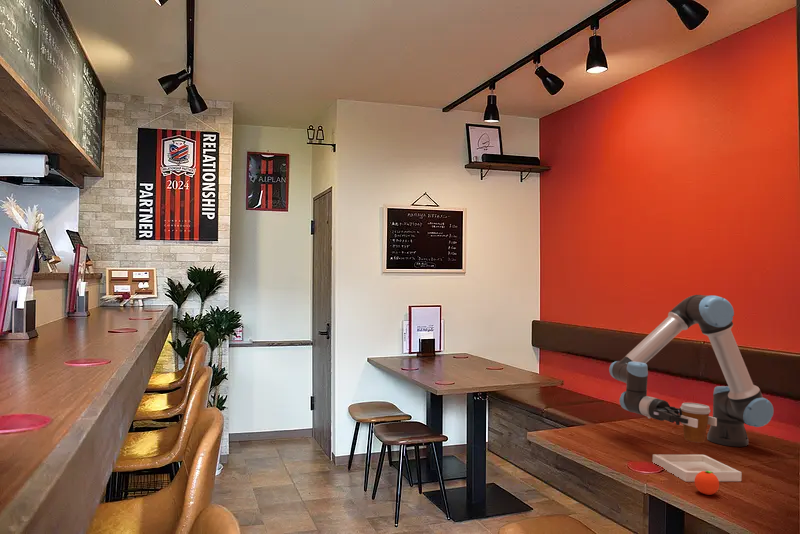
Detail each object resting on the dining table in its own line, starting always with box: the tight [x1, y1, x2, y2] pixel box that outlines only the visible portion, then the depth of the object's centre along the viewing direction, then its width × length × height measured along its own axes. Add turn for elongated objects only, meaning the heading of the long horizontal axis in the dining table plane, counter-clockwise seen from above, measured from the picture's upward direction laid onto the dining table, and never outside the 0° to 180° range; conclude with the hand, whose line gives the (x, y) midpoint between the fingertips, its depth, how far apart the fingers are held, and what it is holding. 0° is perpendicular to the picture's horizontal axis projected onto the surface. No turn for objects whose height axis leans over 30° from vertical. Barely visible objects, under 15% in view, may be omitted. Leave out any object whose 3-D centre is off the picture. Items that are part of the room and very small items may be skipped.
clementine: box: [694, 471, 720, 496], centre depth 194 cm, size 8×7×7 cm
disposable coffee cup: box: [679, 402, 712, 443], centre depth 216 cm, size 10×10×12 cm
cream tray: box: [651, 454, 742, 483], centre depth 216 cm, size 20×20×3 cm
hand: (706, 422), depth 212 cm, fingers closed on disposable coffee cup, 8 cm apart
